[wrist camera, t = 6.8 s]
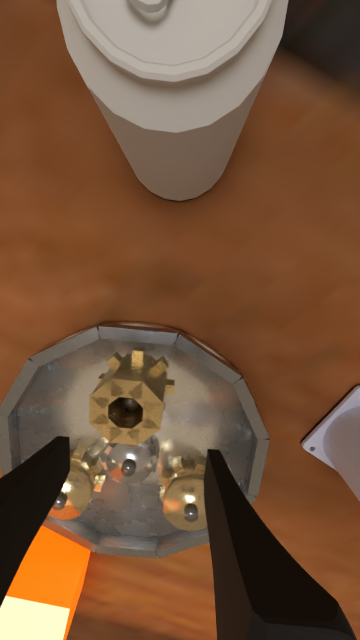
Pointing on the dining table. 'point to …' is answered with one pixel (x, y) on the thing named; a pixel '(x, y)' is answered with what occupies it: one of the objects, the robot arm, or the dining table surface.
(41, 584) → the orange juice
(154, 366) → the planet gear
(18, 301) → the dining table surface
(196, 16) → the can
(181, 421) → the carrier
